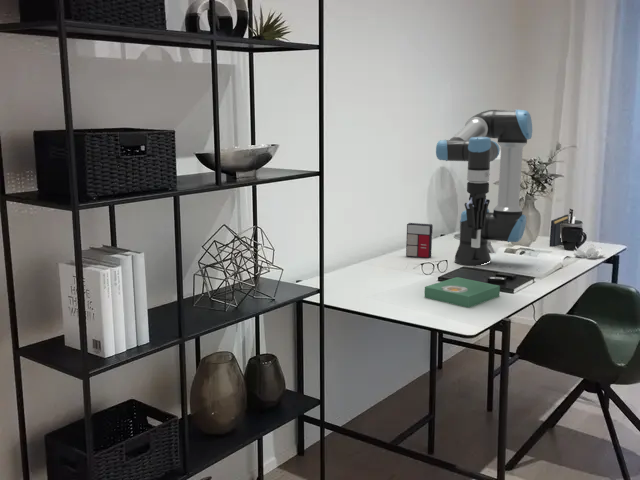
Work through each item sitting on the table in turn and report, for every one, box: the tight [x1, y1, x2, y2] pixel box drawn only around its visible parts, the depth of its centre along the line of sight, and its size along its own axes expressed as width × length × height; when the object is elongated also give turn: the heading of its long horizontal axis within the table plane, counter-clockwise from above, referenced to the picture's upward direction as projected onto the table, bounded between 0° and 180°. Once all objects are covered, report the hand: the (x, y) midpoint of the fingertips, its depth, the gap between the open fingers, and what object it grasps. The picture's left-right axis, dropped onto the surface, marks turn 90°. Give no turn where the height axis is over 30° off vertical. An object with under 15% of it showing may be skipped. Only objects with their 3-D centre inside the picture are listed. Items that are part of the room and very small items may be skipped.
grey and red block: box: [405, 222, 433, 259], centre depth 299 cm, size 11×4×15 cm, turn 67°
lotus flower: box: [573, 242, 606, 260], centre depth 289 cm, size 14×15×9 cm
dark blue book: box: [549, 214, 569, 248], centre depth 319 cm, size 20×2×15 cm, turn 139°
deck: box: [424, 276, 501, 308], centre depth 235 cm, size 18×20×4 cm
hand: (475, 247), depth 238 cm, fingers closed
